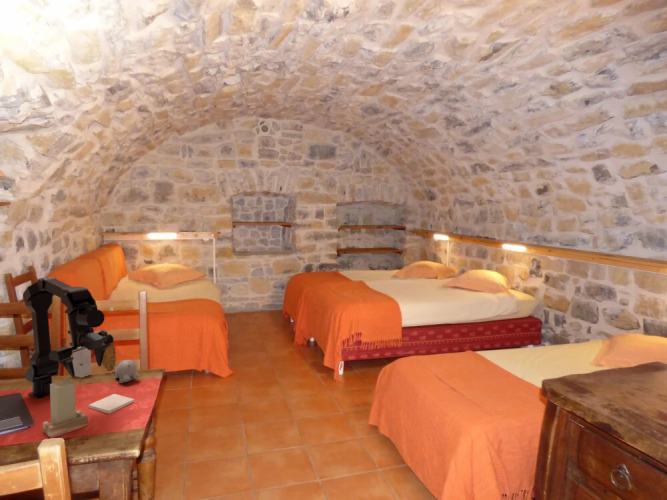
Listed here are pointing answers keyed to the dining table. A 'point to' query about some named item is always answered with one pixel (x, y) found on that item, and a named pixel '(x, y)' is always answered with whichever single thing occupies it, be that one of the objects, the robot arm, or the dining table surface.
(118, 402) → the ceramic tile
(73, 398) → the sage block
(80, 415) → the birch stall
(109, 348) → the stone tool
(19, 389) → the dining table surface
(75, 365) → the skincare box
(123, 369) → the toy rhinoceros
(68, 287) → the robot arm
